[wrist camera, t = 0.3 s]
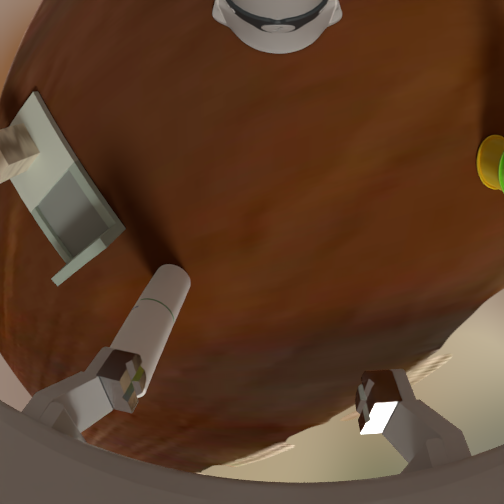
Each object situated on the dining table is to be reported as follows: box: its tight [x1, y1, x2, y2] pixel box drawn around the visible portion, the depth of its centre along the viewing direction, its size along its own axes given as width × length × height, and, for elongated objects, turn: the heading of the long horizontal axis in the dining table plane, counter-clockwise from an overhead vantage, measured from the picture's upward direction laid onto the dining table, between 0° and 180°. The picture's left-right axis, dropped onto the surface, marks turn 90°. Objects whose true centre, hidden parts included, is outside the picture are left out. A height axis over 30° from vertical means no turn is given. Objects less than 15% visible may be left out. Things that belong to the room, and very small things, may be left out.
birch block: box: [0, 123, 40, 183], centre depth 40 cm, size 8×6×9 cm
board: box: [9, 91, 126, 286], centre depth 45 cm, size 34×18×8 cm, turn 32°
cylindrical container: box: [110, 264, 190, 398], centre depth 45 cm, size 7×7×25 cm
